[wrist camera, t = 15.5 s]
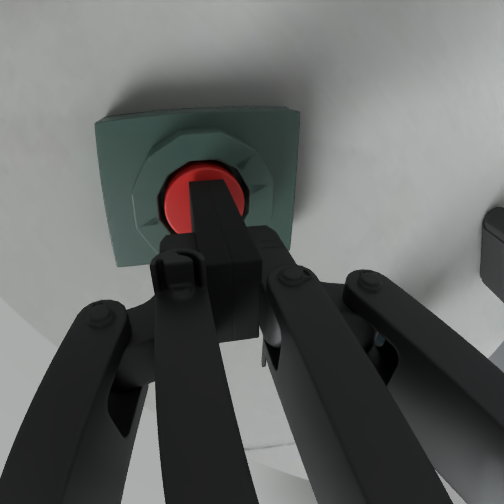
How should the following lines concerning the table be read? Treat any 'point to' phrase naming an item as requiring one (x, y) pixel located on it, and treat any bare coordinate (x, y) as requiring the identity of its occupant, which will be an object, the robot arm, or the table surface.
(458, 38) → the table surface
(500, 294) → the dark grey upright slab
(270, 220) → the button block
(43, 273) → the table surface
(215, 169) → the button
